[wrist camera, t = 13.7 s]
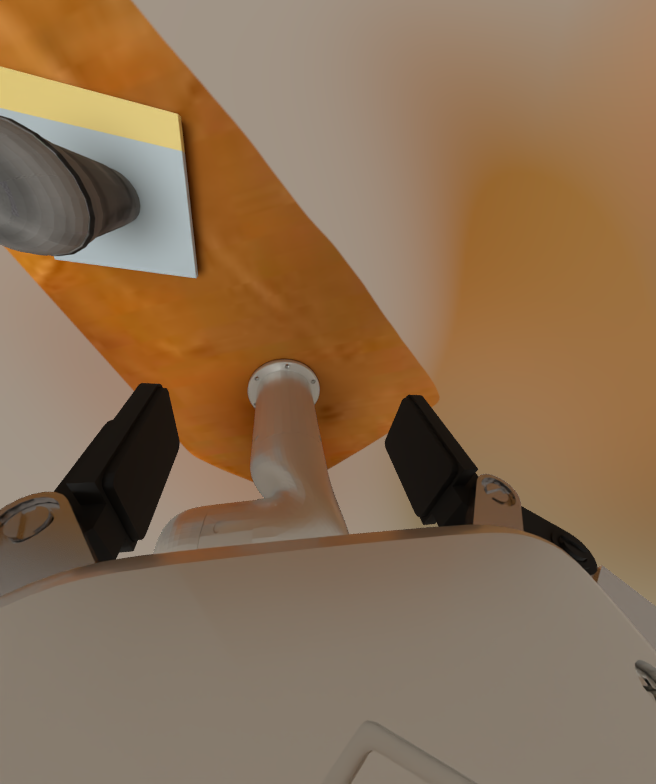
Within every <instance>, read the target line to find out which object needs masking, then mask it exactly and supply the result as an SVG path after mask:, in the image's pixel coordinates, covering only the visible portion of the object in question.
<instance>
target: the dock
mask: <svg viewBox="0 0 656 784" xmlns="http://www.w3.org/2000/svg"><path fill="white" fill-rule="evenodd" d="M0 116H4V117H7V118H11V119H13V120H15V121H17V122H18V123H20V124H22V125H24V126H25V127H27V128H29V129H31V130H32V131H34V132H36V133H38V134H39V135H40V136H41V137H43V138H44V139H46V140H48V141H50V142H51V143H53V144H56V145H58V146H61V147H63V148H66V149H68V150H70V151H73V152H75V153H78V154H80V155H83V156H85V157H87V158H90V159H92V160H95V161H97V162H100V163H102V164H104V165H106V166H108V167H110V168H112V169H114V170H116V171H118V172H119V173H121V174H122V175H123V176H124V177H126V178H127V179H128V180H129V181H130V183H131V184H132V185H133V187H134V188H135V190H136V192H137V194H138V197H139V200H140V213H139V215H138V217H137V218H136V219H135V220H134V221H132V222H130V223H129V224H127V225H125V226H123V227H121V228H118V229H116V230H114V231H111V232H109V233H106V234H104V235H102V236H99V237H97V238H95V239H94V240H93V241H92V242H90V243H89V244H88V245H87V247H86V248H84V249H82V250H80V251H79V252H77V253H75V254H73V255H64V256H54V258H55V259H57V260H64V261H71V262H79V263H86V264H94V265H101V266H109V267H116V268H124V269H131V270H139V271H146V272H154V273H161V274H169V275H176V276H183V277H191V278H197V277H198V270H197V261H196V252H195V242H194V233H193V224H192V215H191V205H190V196H189V187H188V178H187V169H186V159H185V150H184V141H183V132H182V123H181V117H180V116H179V115H178V114H176V113H172V112H168V111H165V110H161V109H157V108H153V107H150V106H146V105H142V104H138V103H135V102H131V101H127V100H123V99H120V98H116V97H112V96H109V95H105V94H101V93H97V92H94V91H90V90H86V89H82V88H79V87H75V86H71V85H67V84H64V83H60V82H56V81H53V80H49V79H45V78H41V77H38V76H34V75H30V74H26V73H23V72H19V71H15V70H11V69H8V68H4V67H0Z"/></svg>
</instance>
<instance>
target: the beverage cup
mask: <svg viewBox="0 0 656 784" xmlns="http://www.w3.org/2000/svg"><path fill="white" fill-rule="evenodd" d="M139 213H140V200H139V197H138V194H137V192H136V190H135V188H134V187H133V185H132V184H131V183H130V181H129V180H128V179H127V178H126V177H124V176H123V175H122V174H121V173H119V172H118V171H116V170H114V169H112V168H110V167H108V166H106V165H104V164H102V163H100V162H97V161H95V160H92V159H90V158H87V157H85V156H83V155H80V154H78V153H75V152H73V151H70V150H68V149H66V148H63V147H61V146H58V145H56V144H53V143H51V142H50V141H48V140H46V139H44V138H43V137H41V136H40V135H39V134H38V133H36V132H34V131H32V130H31V129H29V128H27V127H25V126H24V125H22V124H20V123H18V122H17V121H15V120H13V119H11V118H7V117H4V116H0V245H3V246H5V247H8V248H10V249H13V250H17V251H21V252H26V253H32V254H37V255H51V256H64V255H73V254H75V253H77V252H79V251H80V250H82V249H84V248H86V247H87V245H88V244H89V243H90V242H92V241H93V240H94V239H95V238H97V237H99V236H102V235H104V234H106V233H109V232H111V231H114V230H116V229H118V228H121V227H123V226H125V225H127V224H129V223H130V222H132V221H134V220H135V219H136V218H137V217H138V215H139Z"/></svg>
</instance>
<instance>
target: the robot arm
mask: <svg viewBox="0 0 656 784" xmlns="http://www.w3.org/2000/svg"><path fill="white" fill-rule="evenodd" d="M286 364H288V365H286ZM256 376H258V377H256ZM319 392H320V387H319V382H318V379H317V377H316V375H315V373H314V372H313V371H312V370H311V369H310V368H309V367H307V366H306V365H304V364H302V363H300V362H298V361H294V360H287V359H282V360H275V361H271V362H268V363H266V364H264V365H262V366H261V367H259V368H258V369H257V370H256V371H255V372H254V373H253V375H252V376H251V378H250V381H249V384H248V397H249V400H250V402H251V404H252V405H253V406H254V408H255V418H254V429H253V440H252V451H251V462H250V470H251V476H252V479H253V482H254V484H255V486H256V488H257V489H258V491H259V492H260V493H261V495H262V496H263V497H264V499H257V500H253V501H243V502H234V503H225V504H216V505H209V506H202V507H196V508H192V509H189V510H186V511H184V512H182V513H180V514H178V515H176V516H175V517H174V518H173V519H171V520H170V521H169V522H168V524H167V525H166V526H165V527H164V529H163V530H162V532H161V534H160V536H159V538H158V541H157V543H156V546H155V549H154V553H153V554H151V555H142V556H135V557H128V558H122V559H116V558H117V555H118V553H119V552H130V551H134V548H135V546H136V543H137V541H138V540H142V539H143V538H144V537H145V535H146V532H147V530H148V527H149V525H150V522H151V520H152V517H153V515H154V512H155V509H156V507H157V504H158V502H159V499H160V496H161V494H162V491H163V489H164V486H165V483H166V481H167V478H168V476H169V473H170V471H171V468H172V465H173V463H174V460H175V457H176V455H177V453H178V450H179V437H178V432H177V428H176V423H175V419H174V414H173V410H172V406H171V401H170V397H169V392H168V390H167V389H166V388H163V387H162V385H161V384H150V383H141V384H140V385H139V386H138V387H137V388H136V390H135V391H134V392H133V394H132V395H131V397H130V398H129V399H128V400H127V402H126V403H125V405H124V406H123V407H122V409H121V410H120V411H119V413H118V414H117V415H116V417H115V418H114V419H113V420H111V421H108V422H107V423H106V424H105V425H104V426H103V428H102V429H101V430H100V432H99V433H98V434H97V436H96V437H95V438H94V440H93V441H92V442H91V444H90V445H89V446H88V447H87V449H86V450H85V452H84V453H83V454H82V455H81V457H80V458H79V459H78V461H77V462H76V463H75V465H74V466H73V467H72V468H71V470H70V471H69V473H68V474H67V475H66V476H65V478H64V479H63V480H62V482H61V483H60V484H59V486H58V487H57V488H56V489H55V491H54V492H41V493H36V494H31V495H29V496H26V497H23V498H20V499H18V500H16V501H14V502H12V503H10V504H8V505H6V506H5V507H3V508H2V509H1V510H0V784H656V606H654V605H653V604H651V602H649V601H648V600H647V599H645V598H644V597H643V596H641V595H640V594H639V593H638V592H636V591H635V590H634V589H632V588H631V587H630V586H628V585H627V584H626V583H625V582H623V581H622V580H621V579H619V578H618V577H617V576H615V575H614V574H613V573H611V572H610V571H609V570H608V569H606V568H605V567H604V566H602V565H601V566H600V567H597V564H596V561H595V559H594V557H593V556H592V554H591V553H590V551H589V550H588V549H587V548H586V547H585V545H583V543H582V542H580V541H579V540H578V539H577V538H575V537H574V536H572V535H571V534H570V533H568V532H566V531H564V530H563V529H561V528H559V527H557V526H556V525H554V524H552V523H550V522H548V521H547V520H545V519H543V518H542V517H540V516H538V515H536V514H534V513H533V512H531V511H529V510H527V509H526V508H524V507H522V506H521V502H520V498H519V496H518V494H517V493H516V491H515V490H514V489H513V488H512V487H511V486H510V485H509V484H508V483H506V482H505V481H504V480H502V479H500V478H498V477H496V476H493V475H490V474H483V475H480V476H479V477H478V476H477V474H476V473H475V472H476V471H477V470H478V468H477V467H476V466H475V464H474V463H473V462H472V461H471V459H470V458H469V456H468V455H467V454H466V453H465V451H464V450H463V449H462V447H461V446H460V445H459V443H458V442H457V441H456V439H455V438H454V437H453V435H452V434H451V433H450V431H449V430H448V429H447V428H446V426H445V425H444V424H443V422H442V421H441V420H440V418H439V417H438V416H437V414H436V413H435V412H434V411H433V409H432V408H431V407H430V405H429V404H428V403H427V401H426V400H425V399H424V397H423V396H421V395H408V396H407V397H406V398H404V399H403V400H402V402H401V404H400V407H399V409H398V411H397V414H396V416H395V418H394V421H393V423H392V426H391V428H390V430H389V433H388V435H387V438H386V440H385V447H386V450H387V452H388V454H389V456H390V459H391V461H392V463H393V465H394V468H395V470H396V472H397V474H398V476H399V479H400V481H401V483H402V485H403V488H404V490H405V492H406V494H407V496H408V499H409V501H410V503H411V505H412V508H413V509H414V512H415V514H416V515H417V516H418V517H420V519H421V521H422V523H423V525H428V524H435V523H436V522H437V524H438V526H439V527H427V528H416V529H405V530H393V531H383V532H371V533H360V534H349V532H348V529H347V526H346V523H345V520H344V518H343V515H342V513H341V510H340V508H339V505H338V503H337V500H336V498H335V495H334V492H333V489H332V486H331V482H330V479H329V475H328V471H327V466H326V462H325V457H324V452H323V447H322V442H321V437H320V432H319V427H318V421H317V416H316V411H315V406H314V405H315V403H316V402H317V400H318V397H319Z"/></svg>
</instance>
